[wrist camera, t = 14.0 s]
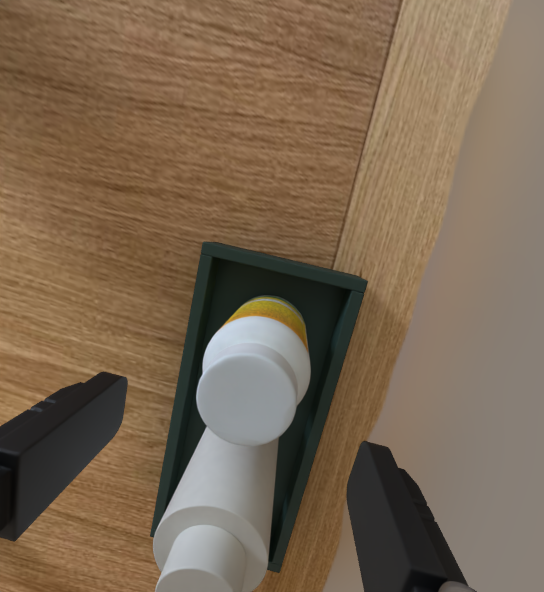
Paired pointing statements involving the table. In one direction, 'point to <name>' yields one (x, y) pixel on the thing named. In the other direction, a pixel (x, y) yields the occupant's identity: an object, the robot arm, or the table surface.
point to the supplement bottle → (255, 372)
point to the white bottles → (218, 519)
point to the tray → (322, 352)
